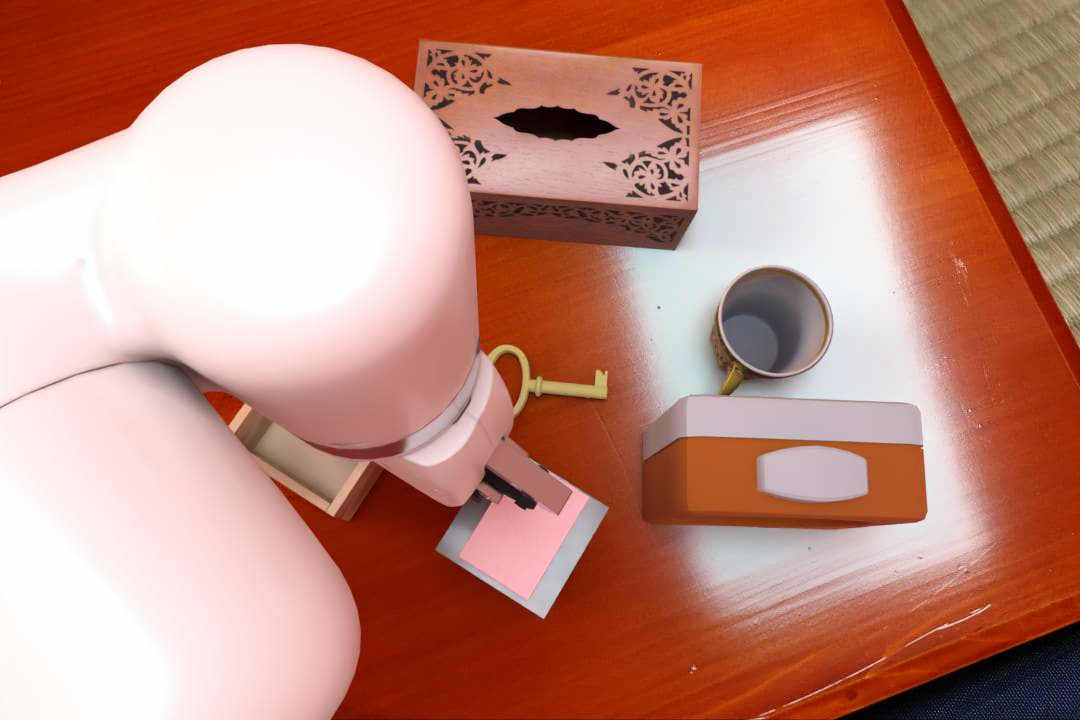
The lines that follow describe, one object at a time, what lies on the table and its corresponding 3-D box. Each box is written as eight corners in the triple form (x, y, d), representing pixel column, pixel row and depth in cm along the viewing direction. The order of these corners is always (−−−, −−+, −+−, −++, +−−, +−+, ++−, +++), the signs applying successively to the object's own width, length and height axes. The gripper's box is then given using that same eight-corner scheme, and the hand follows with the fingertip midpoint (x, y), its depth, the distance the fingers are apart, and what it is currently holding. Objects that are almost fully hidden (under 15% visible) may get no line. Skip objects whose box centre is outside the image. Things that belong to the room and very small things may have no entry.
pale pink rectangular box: (526, 598, 53) (528, 601, 50) (460, 556, 53) (458, 556, 50) (584, 500, 55) (589, 497, 51) (520, 460, 55) (521, 454, 52)
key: (612, 400, 82) (615, 396, 80) (484, 427, 81) (483, 423, 78) (595, 328, 83) (597, 322, 81) (469, 353, 82) (468, 348, 80)
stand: (529, 601, 77) (544, 620, 53) (453, 553, 78) (434, 550, 53) (575, 523, 79) (610, 507, 55) (500, 477, 80) (502, 440, 55)
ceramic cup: (728, 279, 85) (758, 242, 75) (813, 336, 84) (855, 307, 74) (655, 383, 82) (676, 360, 72) (743, 444, 81) (776, 429, 72)
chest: (349, 521, 78) (333, 517, 70) (243, 453, 79) (216, 442, 71) (432, 395, 81) (425, 378, 73) (329, 331, 82) (312, 308, 74)
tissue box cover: (413, 229, 85) (403, 186, 75) (428, 96, 88) (419, 38, 78) (674, 250, 85) (697, 210, 76) (679, 118, 89) (701, 63, 79)
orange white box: (640, 523, 79) (688, 511, 59) (640, 428, 81) (687, 386, 61) (838, 530, 80) (952, 520, 60) (834, 436, 82) (943, 396, 62)
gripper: (80, 297, 28) (232, 396, 45) (527, 586, 27) (513, 578, 44) (221, 123, 30) (317, 281, 47) (647, 387, 29) (590, 453, 45)
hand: (412, 424), depth 45 cm, fingers open, 9 cm apart
